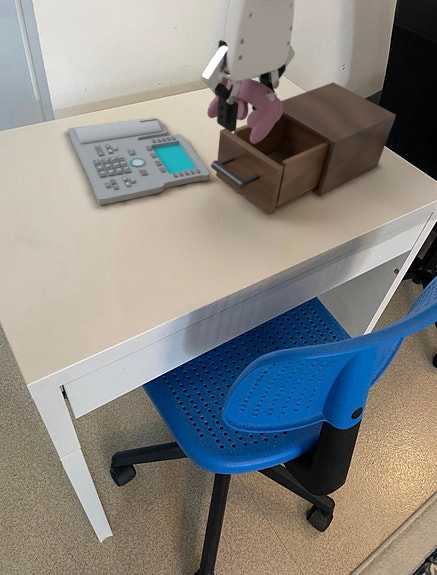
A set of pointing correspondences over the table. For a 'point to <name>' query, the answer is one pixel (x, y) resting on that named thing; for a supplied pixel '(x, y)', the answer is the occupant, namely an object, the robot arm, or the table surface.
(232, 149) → the drawer
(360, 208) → the table surface
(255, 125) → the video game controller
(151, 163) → the office telephone
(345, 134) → the cabinet
